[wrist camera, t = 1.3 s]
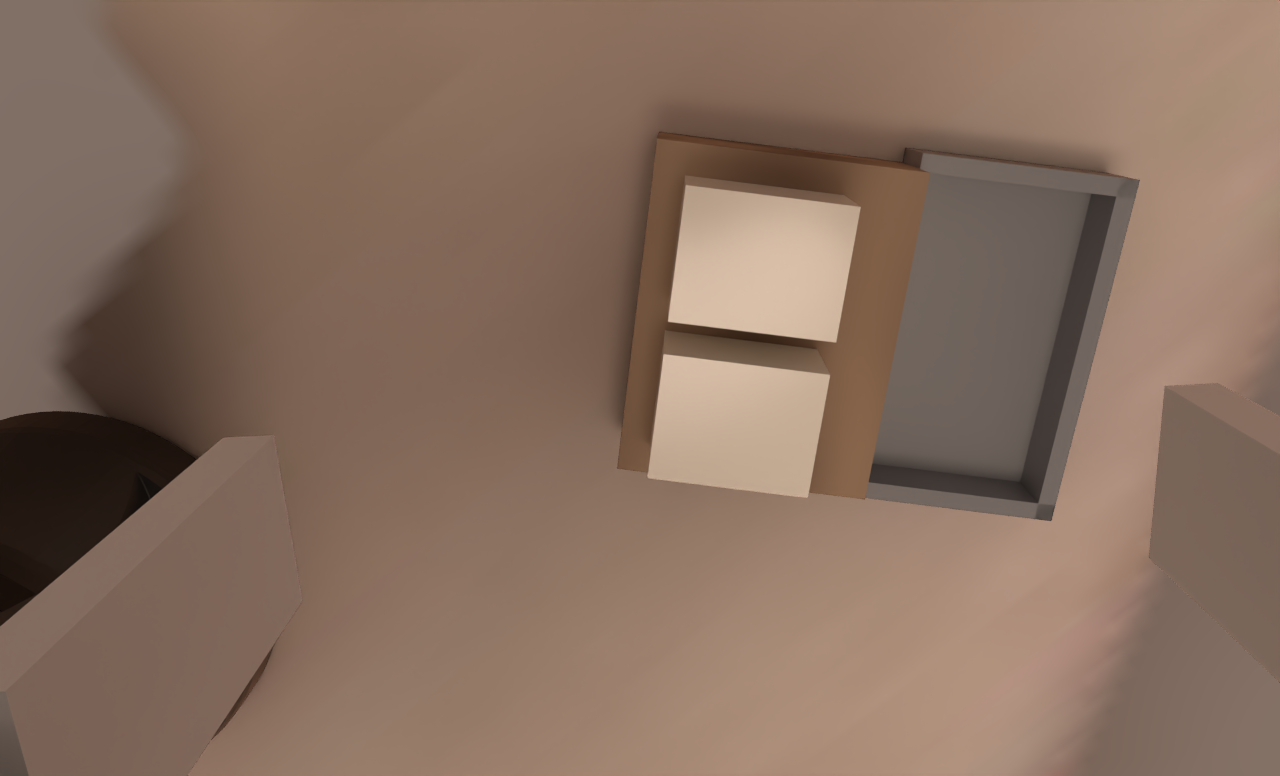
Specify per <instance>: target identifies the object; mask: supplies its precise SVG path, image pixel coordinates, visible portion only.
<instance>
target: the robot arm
mask: <svg viewBox="0 0 1280 776" xmlns="http://www.w3.org/2000/svg"><path fill="white" fill-rule="evenodd" d="M1149 558H1150V559H1151V560H1152V561H1153V562H1154V563H1155V564H1156V565H1157V566H1158V567H1159V568H1160V569H1161V570H1162V571H1163V572H1164V573H1165V574H1166V575H1167V576H1169V577H1170V578H1171V579H1172V580H1173V581H1174V582H1175V583H1176V584H1177V585H1178V586H1179V587H1180V588H1181V589H1182V590H1183V591H1184V592H1185V593H1186V594H1188V596H1189V597H1191V598H1192V599H1193V600H1194V601H1195V602H1196V603H1197V604H1198V605H1199V606H1200V607H1201V608H1202V609H1203V610H1204V611H1205V612H1206V613H1207V614H1208V615H1209V616H1210V617H1212V619H1214V620H1215V621H1216V622H1217V623H1218V624H1219V625H1220V626H1221V627H1222V628H1223V629H1224V630H1225V631H1226V632H1227V633H1228V634H1229V635H1230V636H1231V637H1232V638H1233V639H1234V640H1236V641H1237V642H1238V643H1239V644H1240V645H1241V646H1242V647H1243V648H1244V649H1245V650H1246V651H1247V652H1248V653H1249V654H1250V655H1251V656H1252V657H1253V658H1254V659H1255V660H1256V661H1258V662H1259V663H1260V664H1261V665H1262V666H1263V667H1264V668H1265V669H1266V670H1267V671H1268V672H1269V673H1270V674H1271V675H1272V676H1273V677H1274V678H1275V679H1276V680H1278V682H1279V683H1280V416H1278V415H1277V414H1275V413H1273V412H1271V411H1269V410H1267V409H1265V408H1263V407H1262V406H1260V405H1258V404H1256V403H1254V402H1252V401H1250V400H1248V399H1247V398H1245V397H1243V396H1241V395H1239V394H1237V393H1235V392H1233V391H1232V390H1230V389H1228V388H1226V387H1224V386H1222V385H1220V384H1218V383H1212V384H1194V385H1176V386H1165V389H1164V400H1163V411H1162V421H1161V432H1160V443H1159V453H1158V464H1157V475H1156V485H1155V496H1154V507H1153V517H1152V528H1151V539H1150V550H1149ZM302 601H303V599H302V593H301V587H300V582H299V576H298V570H297V564H296V559H295V553H294V547H293V541H292V536H291V530H290V524H289V518H288V513H287V507H286V501H285V495H284V490H283V484H282V478H281V472H280V467H279V461H278V455H277V449H276V444H275V438H274V435H262V436H244V437H226V438H222V439H221V440H220V441H219V442H217V443H216V444H215V445H214V446H213V447H211V448H210V449H209V450H208V451H207V452H206V453H204V454H203V455H202V456H201V457H200V458H198V459H197V460H196V459H194V458H193V457H192V456H190V455H189V454H187V453H186V452H184V451H183V450H182V449H180V448H178V447H177V446H175V445H173V444H172V443H170V442H168V441H167V440H165V439H163V438H161V437H159V436H157V435H155V434H153V433H151V432H149V431H146V430H144V429H142V428H139V427H137V426H134V425H131V424H129V423H126V422H122V421H119V420H116V419H112V418H108V417H103V416H99V415H93V414H87V413H78V412H61V411H52V412H38V413H31V414H24V415H19V416H14V417H10V418H7V419H4V420H0V776H187V775H188V774H189V772H190V771H191V769H192V768H193V766H194V765H195V763H196V762H197V760H198V759H199V757H200V756H201V754H202V753H203V751H204V750H205V748H206V747H207V745H208V744H209V742H210V741H211V740H212V739H213V738H214V737H215V736H216V735H217V734H218V733H219V732H220V731H221V730H222V729H223V728H224V727H225V726H226V725H227V724H228V722H229V721H230V720H231V719H232V717H233V716H234V715H235V713H236V712H237V710H238V709H239V708H240V706H241V705H242V703H243V702H244V700H245V699H246V698H247V696H248V695H249V693H250V692H251V690H252V689H253V687H254V686H255V684H256V683H257V681H258V680H259V678H260V676H261V674H262V673H263V671H264V668H265V666H266V664H267V662H268V659H269V656H270V653H271V650H272V647H273V645H274V643H275V642H276V640H277V639H278V637H279V636H280V634H281V633H282V631H283V630H284V628H285V627H286V625H287V624H288V622H289V621H290V619H291V618H292V616H293V615H294V613H295V612H296V610H297V609H298V607H299V606H300V604H301V603H302Z"/></svg>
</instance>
